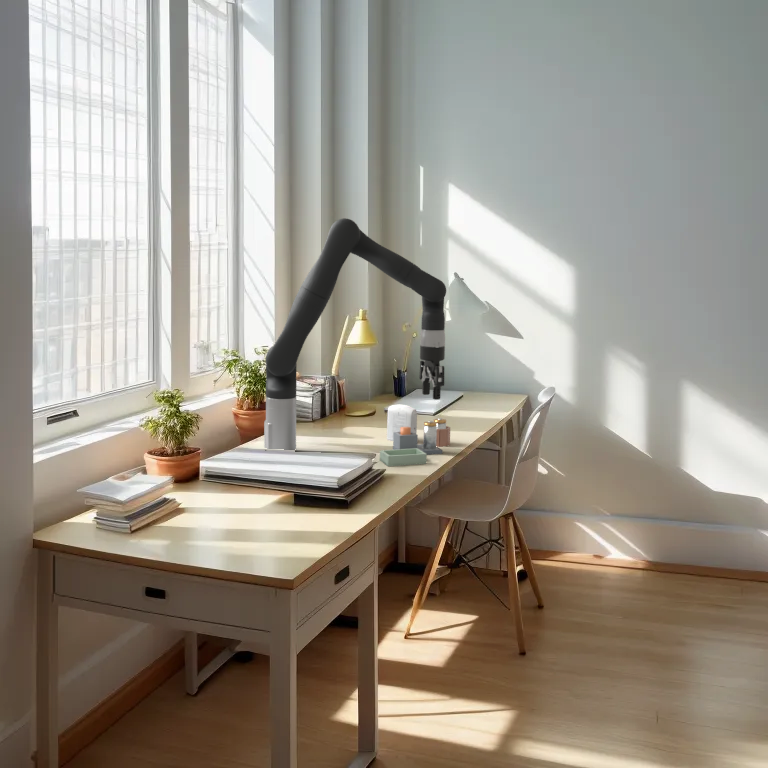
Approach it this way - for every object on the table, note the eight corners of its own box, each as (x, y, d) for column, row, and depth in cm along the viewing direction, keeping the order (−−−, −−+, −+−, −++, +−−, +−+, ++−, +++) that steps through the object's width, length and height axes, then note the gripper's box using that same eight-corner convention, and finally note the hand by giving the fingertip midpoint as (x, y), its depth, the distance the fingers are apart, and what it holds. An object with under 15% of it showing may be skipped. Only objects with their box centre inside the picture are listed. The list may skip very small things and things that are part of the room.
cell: (426, 449, 272) (426, 422, 270) (421, 447, 276) (422, 420, 274) (438, 449, 273) (438, 422, 272) (433, 446, 277) (434, 419, 275)
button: (402, 444, 273) (402, 429, 272) (398, 442, 276) (399, 426, 275) (411, 444, 274) (412, 428, 273) (408, 442, 277) (408, 426, 276)
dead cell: (435, 446, 283) (436, 419, 281) (431, 443, 286) (431, 417, 285) (447, 445, 284) (448, 419, 283) (442, 442, 288) (443, 417, 286)
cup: (433, 448, 281) (434, 429, 280) (426, 443, 287) (426, 425, 286) (452, 447, 283) (452, 428, 282) (444, 442, 289) (445, 424, 288)
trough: (388, 466, 257) (388, 456, 257) (379, 460, 264) (379, 450, 264) (426, 463, 261) (426, 453, 261) (417, 457, 268) (417, 448, 268)
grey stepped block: (402, 457, 268) (403, 438, 268) (392, 450, 277) (393, 431, 276) (442, 454, 273) (442, 435, 272) (431, 448, 281) (431, 429, 280)
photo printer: (418, 443, 288) (419, 405, 286) (411, 445, 285) (412, 407, 283) (391, 438, 294) (392, 402, 292) (384, 441, 290) (385, 403, 289)
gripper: (412, 342, 275) (411, 393, 277) (429, 347, 261) (428, 401, 264) (435, 341, 277) (433, 392, 280) (453, 346, 264) (451, 400, 266)
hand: (431, 396), depth 272 cm, fingers open, 8 cm apart
